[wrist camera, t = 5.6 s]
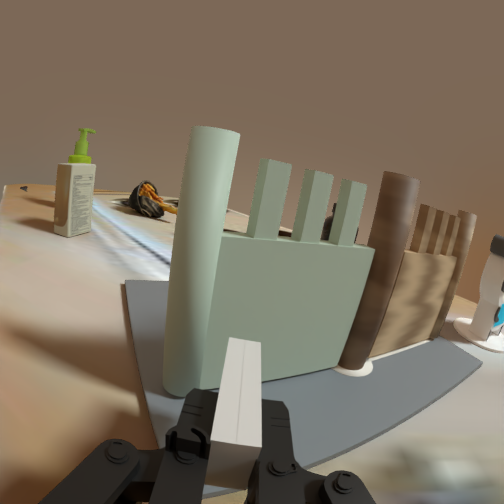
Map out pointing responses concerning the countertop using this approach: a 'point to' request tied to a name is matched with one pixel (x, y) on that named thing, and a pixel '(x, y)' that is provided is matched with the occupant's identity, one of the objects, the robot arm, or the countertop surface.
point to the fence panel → (258, 270)
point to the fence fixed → (407, 273)
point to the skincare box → (74, 198)
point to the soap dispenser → (81, 149)
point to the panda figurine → (488, 304)
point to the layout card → (309, 386)
